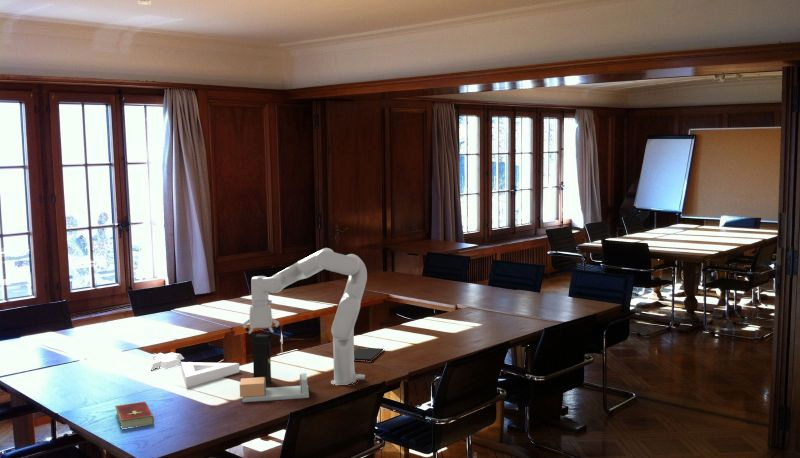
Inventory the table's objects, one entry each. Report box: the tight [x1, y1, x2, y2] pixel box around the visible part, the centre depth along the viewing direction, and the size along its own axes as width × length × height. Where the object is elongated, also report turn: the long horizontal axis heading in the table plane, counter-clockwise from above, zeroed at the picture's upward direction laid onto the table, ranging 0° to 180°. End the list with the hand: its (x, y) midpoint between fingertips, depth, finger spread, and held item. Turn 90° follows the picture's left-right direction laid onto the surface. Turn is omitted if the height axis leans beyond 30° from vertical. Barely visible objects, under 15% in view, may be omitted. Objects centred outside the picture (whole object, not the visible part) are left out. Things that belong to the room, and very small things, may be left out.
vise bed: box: [241, 372, 310, 403], centre depth 319 cm, size 28×14×8 cm, turn 99°
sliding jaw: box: [239, 377, 267, 398], centre depth 318 cm, size 11×10×5 cm
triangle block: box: [180, 361, 240, 389], centre depth 350 cm, size 30×26×6 cm
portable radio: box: [252, 329, 272, 385], centre depth 336 cm, size 8×6×25 cm
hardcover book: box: [115, 401, 155, 428], centre depth 292 cm, size 12×21×4 cm, turn 27°
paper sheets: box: [147, 351, 185, 370], centre depth 373 cm, size 35×20×6 cm, turn 10°
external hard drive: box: [354, 347, 384, 361], centre depth 382 cm, size 14×23×3 cm, turn 163°
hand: (261, 340), depth 336 cm, fingers closed on portable radio, 8 cm apart
